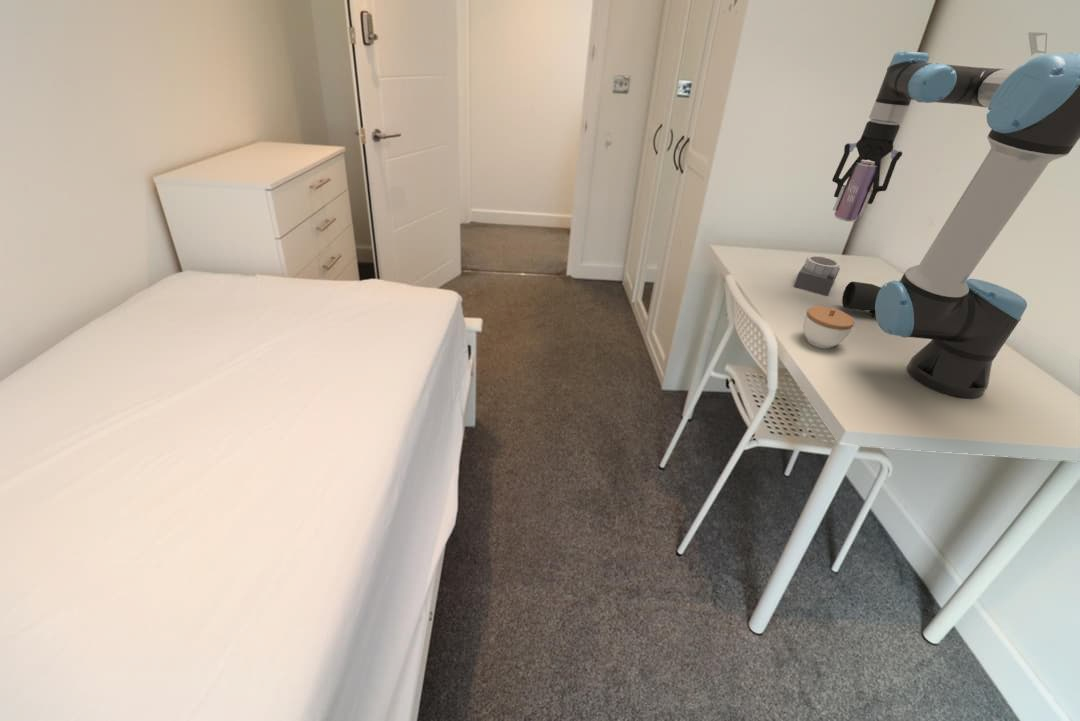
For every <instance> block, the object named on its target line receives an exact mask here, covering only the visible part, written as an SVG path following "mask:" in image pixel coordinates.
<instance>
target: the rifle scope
mask: <svg viewBox="0 0 1080 721" xmlns="http://www.w3.org/2000/svg"><path fill="white" fill-rule="evenodd" d="M881 287H882V286H878V285H876V284H872V283H866V282H860V281H859V282H858V281H850V282H849V283H847V285H846V286H845V288H844V290H843V293H842V299H841V303H842V307H843V308H844V309H847V310H849V309H850V310H855V311H861V312H862V311H863V312H868V314H870V315H871V318H874V319H876V315H875V303H876V298H877V295H878V293H879V291H880V289H881Z"/></svg>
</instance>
